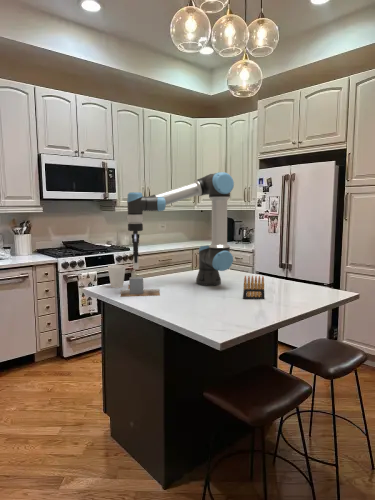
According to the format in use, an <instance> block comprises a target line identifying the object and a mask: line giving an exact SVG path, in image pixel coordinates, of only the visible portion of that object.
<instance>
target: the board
mask: <svg viewBox="0 0 375 500" xmlns="http://www.w3.org/2000/svg"><path fill="white" fill-rule="evenodd" d="M157 296H161V292H160V293H143V294H121V293H120V297H121V298H125V297H126V298H129V297H157Z"/></svg>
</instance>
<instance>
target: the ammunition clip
mask: <svg viewBox="0 0 375 500" xmlns="http://www.w3.org/2000/svg"><path fill="white" fill-rule="evenodd" d="M242 293H243V294H242V299H243V300H265V298H266V297H265V278H264V275H262V276H261V275H259V276H257V275H255V277H254V275H252V276H250V275H248V277H247V275H244V279H243V292H242Z"/></svg>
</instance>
